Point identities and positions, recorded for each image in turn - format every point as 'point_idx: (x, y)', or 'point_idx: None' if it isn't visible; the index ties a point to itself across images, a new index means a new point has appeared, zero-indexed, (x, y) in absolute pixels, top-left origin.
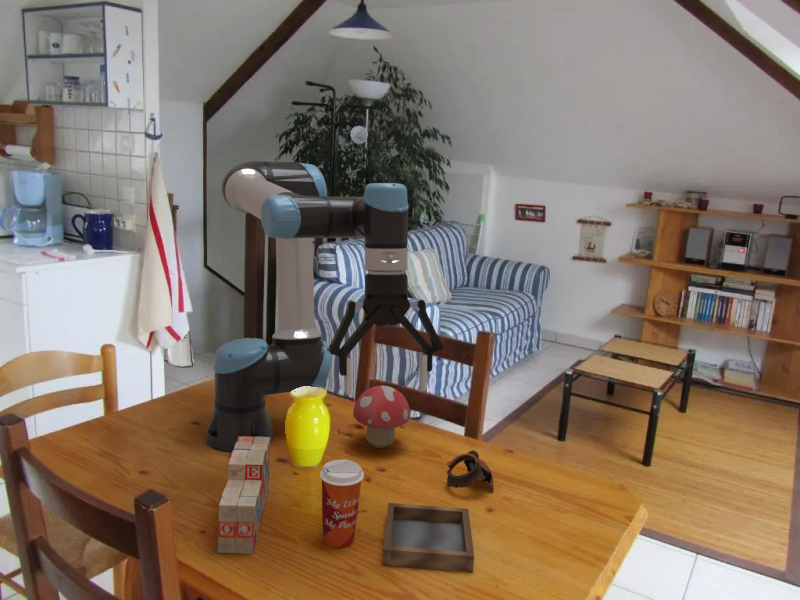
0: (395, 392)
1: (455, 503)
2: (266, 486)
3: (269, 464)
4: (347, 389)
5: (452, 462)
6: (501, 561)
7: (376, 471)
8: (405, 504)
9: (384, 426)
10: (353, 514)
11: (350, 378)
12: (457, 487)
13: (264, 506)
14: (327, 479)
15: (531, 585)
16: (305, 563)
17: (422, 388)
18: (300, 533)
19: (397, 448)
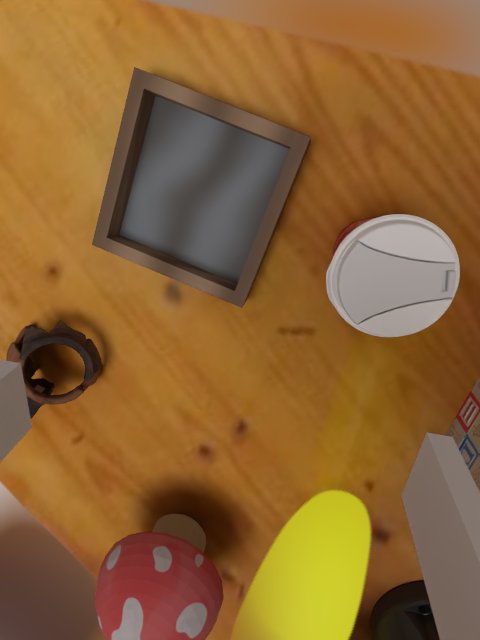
0: (113, 625)
1: (107, 309)
2: (476, 426)
3: None
4: (463, 462)
5: (71, 393)
6: (84, 100)
7: (216, 449)
8: (209, 292)
9: (171, 537)
10: (355, 225)
11: (469, 520)
12: (88, 339)
13: (474, 391)
14: (452, 250)
15: (55, 7)
16: (459, 184)
17: (13, 376)
18: None
19: (154, 509)
